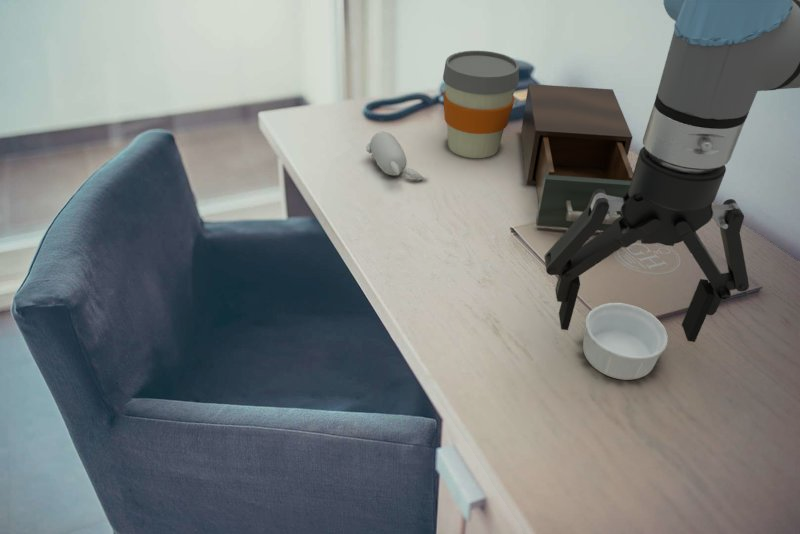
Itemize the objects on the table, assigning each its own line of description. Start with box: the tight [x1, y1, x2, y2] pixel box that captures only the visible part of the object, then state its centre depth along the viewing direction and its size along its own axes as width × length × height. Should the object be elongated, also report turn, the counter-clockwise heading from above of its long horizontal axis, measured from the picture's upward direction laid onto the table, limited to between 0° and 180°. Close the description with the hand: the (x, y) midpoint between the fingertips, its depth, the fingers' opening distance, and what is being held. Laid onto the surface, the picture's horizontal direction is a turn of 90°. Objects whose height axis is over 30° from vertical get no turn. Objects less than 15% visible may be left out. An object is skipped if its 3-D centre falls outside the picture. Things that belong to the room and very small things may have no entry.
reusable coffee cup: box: [442, 50, 520, 159], centre depth 110 cm, size 13×13×15 cm
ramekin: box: [582, 302, 669, 381], centre depth 72 cm, size 9×9×4 cm
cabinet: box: [520, 83, 633, 186], centre depth 108 cm, size 19×15×10 cm
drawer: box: [534, 135, 634, 232], centre depth 95 cm, size 22×13×8 cm, turn 174°
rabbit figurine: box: [366, 130, 424, 181], centre depth 105 cm, size 6×5×12 cm
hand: (625, 327), depth 71 cm, fingers open, 13 cm apart
